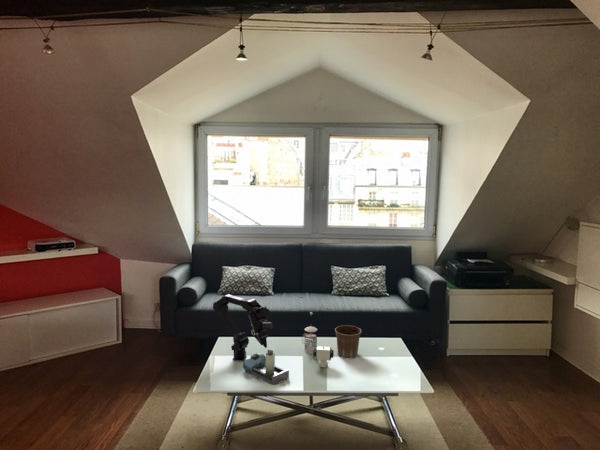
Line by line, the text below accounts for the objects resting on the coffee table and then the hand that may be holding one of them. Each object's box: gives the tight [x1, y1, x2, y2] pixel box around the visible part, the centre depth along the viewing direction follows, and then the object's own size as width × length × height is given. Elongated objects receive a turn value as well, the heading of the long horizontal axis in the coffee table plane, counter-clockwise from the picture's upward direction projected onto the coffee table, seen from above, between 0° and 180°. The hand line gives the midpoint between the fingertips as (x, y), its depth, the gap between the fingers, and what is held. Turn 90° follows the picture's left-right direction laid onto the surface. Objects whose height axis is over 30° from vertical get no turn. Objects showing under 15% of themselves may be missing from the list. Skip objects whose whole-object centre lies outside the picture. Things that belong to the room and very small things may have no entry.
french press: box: [301, 311, 318, 355], centre depth 277 cm, size 10×12×25 cm
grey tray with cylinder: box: [242, 353, 290, 386], centre depth 245 cm, size 25×12×8 cm, turn 46°
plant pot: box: [334, 325, 362, 360], centre depth 272 cm, size 16×16×16 cm
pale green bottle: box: [265, 349, 276, 375], centre depth 242 cm, size 5×5×12 cm
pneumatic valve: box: [312, 345, 335, 368], centre depth 256 cm, size 6×12×12 cm, turn 83°
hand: (264, 346), depth 256 cm, fingers open, 9 cm apart
